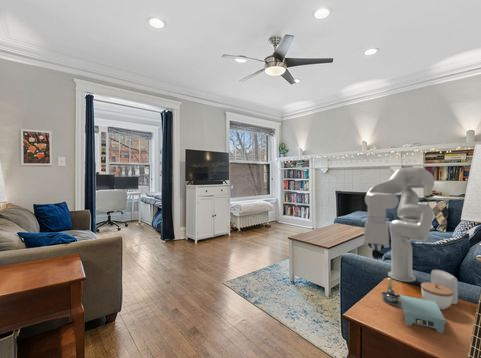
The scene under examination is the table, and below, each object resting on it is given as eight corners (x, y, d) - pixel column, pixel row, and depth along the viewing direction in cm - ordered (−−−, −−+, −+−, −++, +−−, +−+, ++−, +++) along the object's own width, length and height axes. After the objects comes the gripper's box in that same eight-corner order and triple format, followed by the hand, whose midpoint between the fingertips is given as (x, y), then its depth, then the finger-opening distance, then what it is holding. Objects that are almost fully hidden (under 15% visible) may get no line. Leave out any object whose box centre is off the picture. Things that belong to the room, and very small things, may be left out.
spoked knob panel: (381, 295, 111) (381, 285, 111) (431, 305, 102) (431, 294, 102) (384, 320, 92) (384, 308, 92) (446, 335, 83) (446, 321, 83)
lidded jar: (459, 314, 96) (459, 291, 96) (429, 311, 98) (429, 288, 98) (442, 300, 106) (442, 279, 106) (415, 298, 109) (415, 277, 108)
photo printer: (428, 293, 113) (429, 267, 113) (436, 292, 114) (436, 267, 113) (451, 305, 103) (451, 276, 102) (459, 304, 103) (460, 276, 103)
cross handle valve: (380, 291, 113) (380, 276, 113) (397, 294, 110) (398, 279, 110) (381, 301, 105) (381, 284, 104) (400, 305, 101) (400, 288, 101)
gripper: (394, 219, 113) (393, 258, 113) (358, 217, 120) (358, 253, 120) (395, 222, 106) (395, 263, 106) (358, 219, 113) (358, 257, 113)
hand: (375, 258), depth 113 cm, fingers closed
